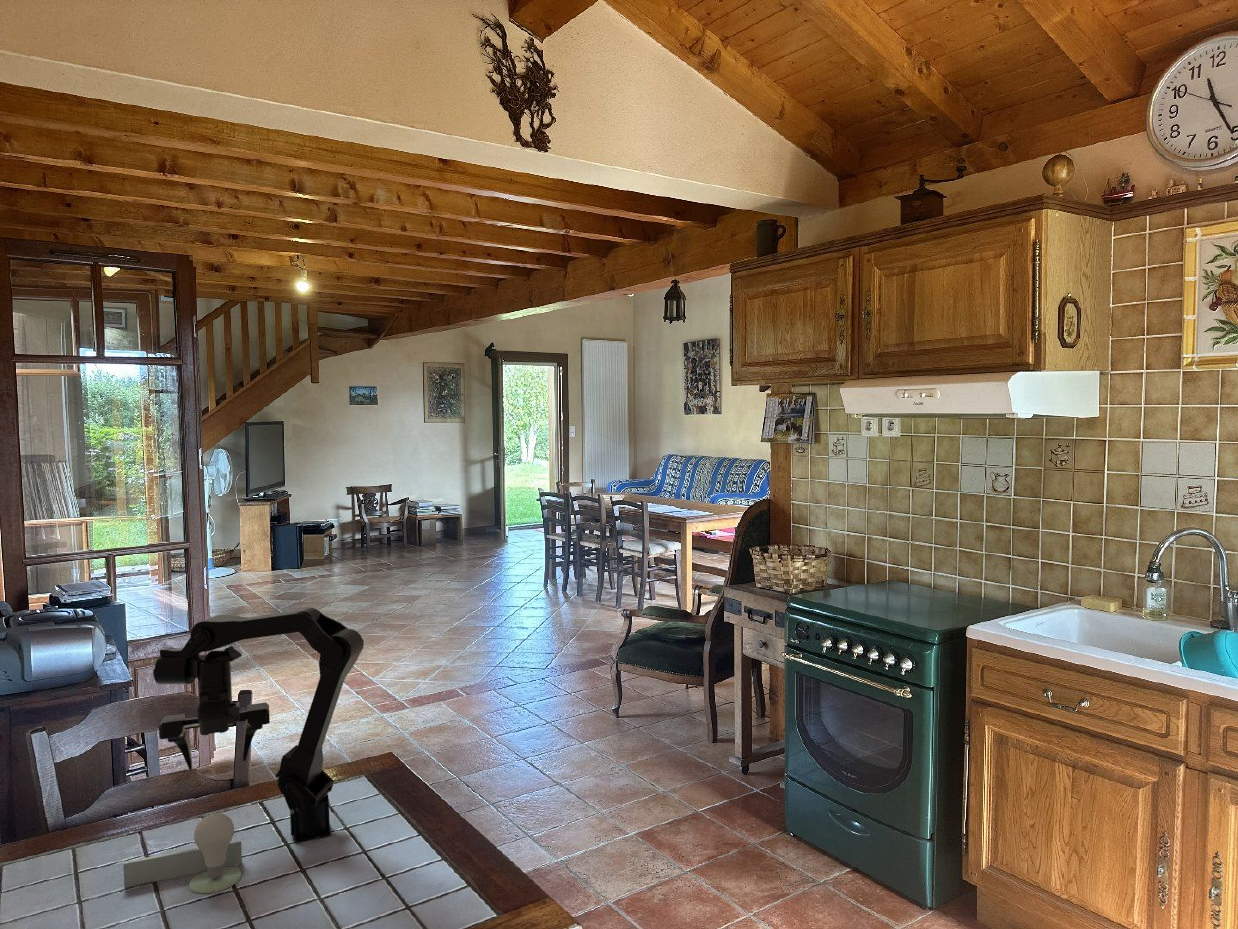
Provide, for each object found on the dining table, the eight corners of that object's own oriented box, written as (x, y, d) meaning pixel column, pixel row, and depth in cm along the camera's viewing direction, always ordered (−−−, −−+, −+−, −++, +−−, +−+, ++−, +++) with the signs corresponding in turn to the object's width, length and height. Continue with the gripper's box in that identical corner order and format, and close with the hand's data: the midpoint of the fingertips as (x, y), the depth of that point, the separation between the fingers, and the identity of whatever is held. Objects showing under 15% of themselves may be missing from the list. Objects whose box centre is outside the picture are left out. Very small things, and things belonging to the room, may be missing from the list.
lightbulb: (221, 889, 139) (218, 824, 138) (187, 887, 140) (185, 822, 139) (243, 870, 145) (241, 807, 144) (211, 868, 146) (208, 806, 145)
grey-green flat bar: (242, 861, 149) (241, 839, 148) (241, 863, 148) (241, 841, 148) (125, 885, 141) (124, 862, 141) (124, 887, 141) (123, 864, 141)
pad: (241, 864, 148) (241, 863, 148) (240, 886, 140) (240, 884, 140) (190, 875, 144) (190, 873, 144) (187, 898, 137) (187, 896, 137)
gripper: (153, 702, 148) (157, 790, 149) (268, 687, 156) (271, 771, 156) (160, 686, 158) (164, 768, 159) (267, 673, 166) (270, 751, 166)
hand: (217, 764), depth 160 cm, fingers open, 9 cm apart
